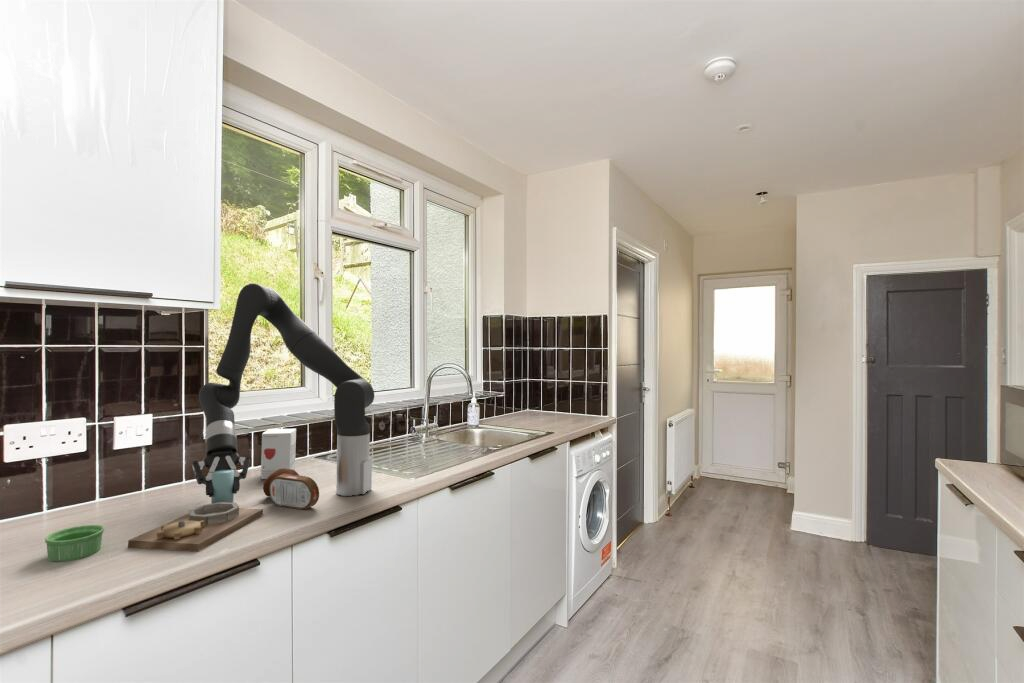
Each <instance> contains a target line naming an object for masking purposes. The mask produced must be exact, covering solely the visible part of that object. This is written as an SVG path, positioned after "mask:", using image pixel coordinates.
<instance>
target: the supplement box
mask: <svg viewBox="0 0 1024 683" xmlns="http://www.w3.org/2000/svg"><path fill="white" fill-rule="evenodd" d="M296 440H297V428H268V429H267V430H265V431H264V432H262V434H261V458H260V459H261V461H260V463H261V464H260V480H266V479H267V478H268V477H269V476H270V475H271V474H272V473H274V472H275V471H277V470H278V469H284V468H285V469H292V470H295V471H296V449H297V448H296V444H297V441H296Z"/></svg>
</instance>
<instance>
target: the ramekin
mask: <svg viewBox="0 0 1024 683" xmlns="http://www.w3.org/2000/svg"><path fill="white" fill-rule="evenodd" d="M104 532H105V527H104V526H103V525H99V524H87V525H85V524H84V525H77V526H72V527H69V528H67V527H66V528H63V529H59V530H57V531H54V532H52V533H49V534H48V535H46V537H45V538H44V542H45V544H46V550H47V551H46V552H47V558H48V559H47V560H49V561H50V562H54V563H55V562H56V563H57V562H58V563H61V562H69V561H75V560H80V559H83V558H86V557H89V556H91V555H93V554H96V553H98V552H99V550H101V546H102V541H103V540H102V539H103V534H104Z"/></svg>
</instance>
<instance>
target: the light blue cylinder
mask: <svg viewBox="0 0 1024 683" xmlns="http://www.w3.org/2000/svg"><path fill="white" fill-rule="evenodd" d="M233 488H234V470H230V469H226V470H218V471H214V472H212V497H211V503H210V504H213V503H219V502H220V503H221V502H228V503H234V493H233Z"/></svg>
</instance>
